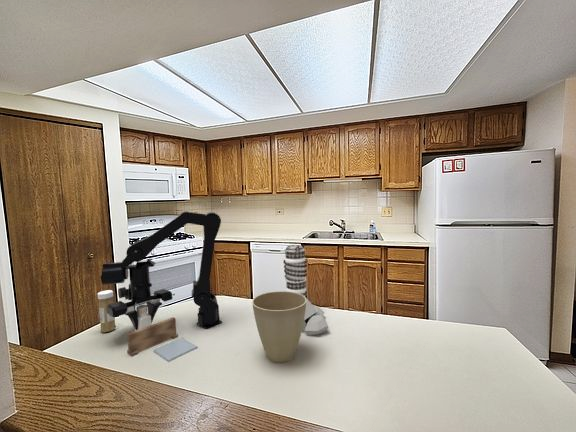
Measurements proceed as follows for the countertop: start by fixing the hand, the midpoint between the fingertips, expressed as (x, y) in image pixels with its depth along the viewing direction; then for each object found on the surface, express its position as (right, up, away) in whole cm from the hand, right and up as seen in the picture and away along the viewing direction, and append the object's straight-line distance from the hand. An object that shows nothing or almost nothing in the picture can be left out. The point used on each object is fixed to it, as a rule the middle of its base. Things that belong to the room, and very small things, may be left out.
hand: (143, 327), depth 94 cm
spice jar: (-14, -3, +5) cm, 15 cm away
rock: (+53, -1, +3) cm, 53 cm away
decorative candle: (+51, 0, +17) cm, 54 cm away
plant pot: (+46, -2, -15) cm, 49 cm away
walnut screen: (+7, -3, -7) cm, 10 cm away
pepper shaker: (0, -3, 0) cm, 3 cm away
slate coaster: (+15, -3, -10) cm, 18 cm away
